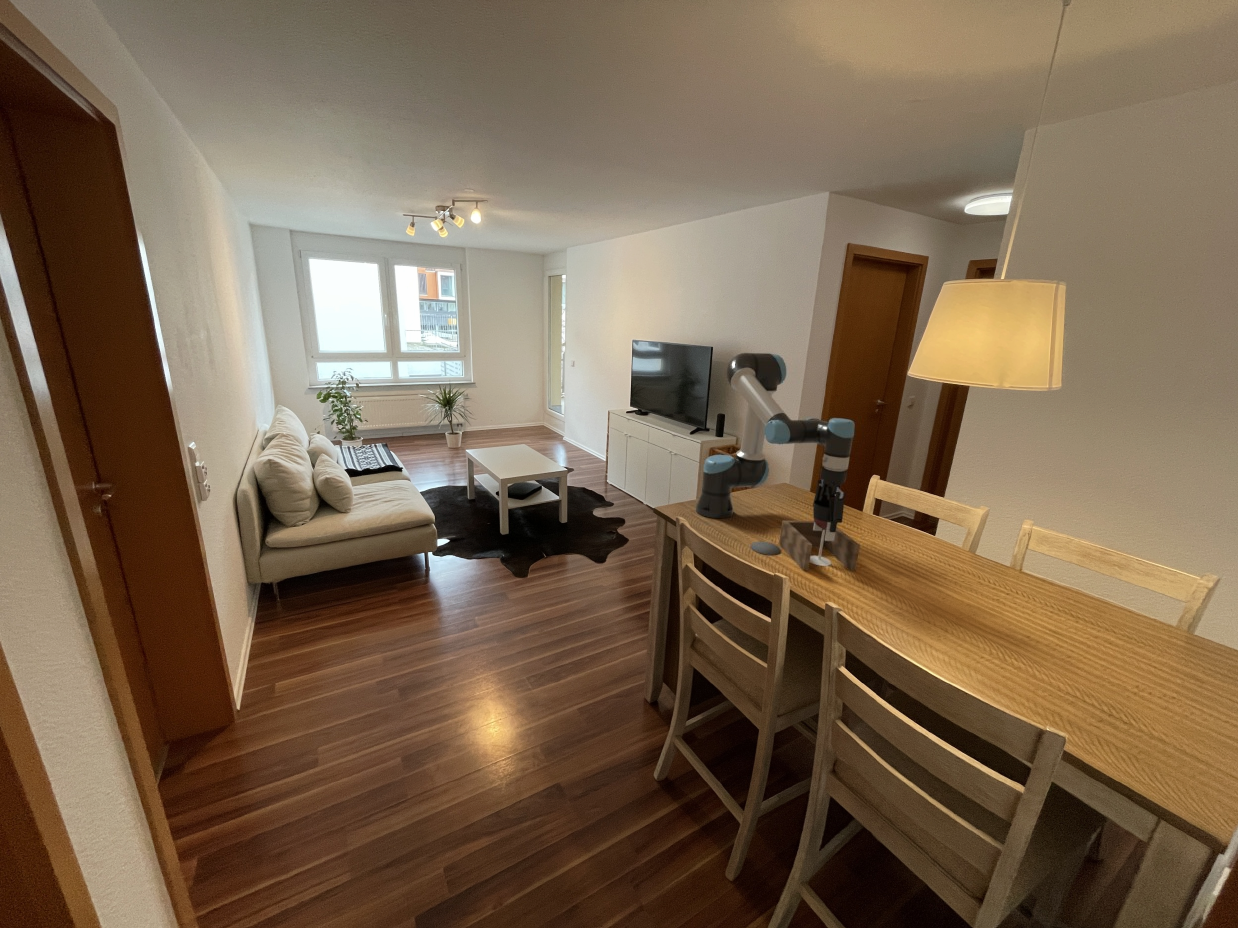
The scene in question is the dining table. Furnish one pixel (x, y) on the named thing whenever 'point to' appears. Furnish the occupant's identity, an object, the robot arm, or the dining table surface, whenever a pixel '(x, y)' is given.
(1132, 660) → the dining table surface
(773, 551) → the felt coaster
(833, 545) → the walnut u-shaped bracket
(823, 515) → the wineglass
